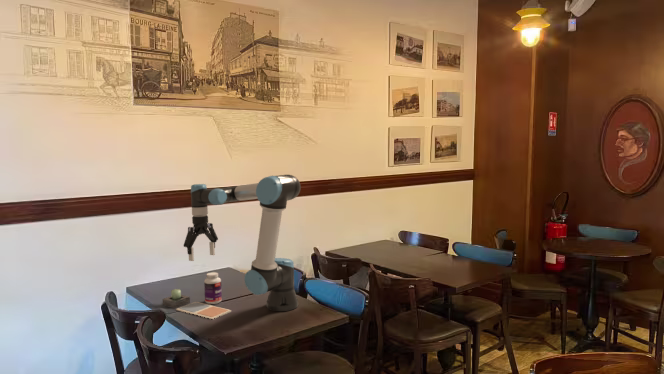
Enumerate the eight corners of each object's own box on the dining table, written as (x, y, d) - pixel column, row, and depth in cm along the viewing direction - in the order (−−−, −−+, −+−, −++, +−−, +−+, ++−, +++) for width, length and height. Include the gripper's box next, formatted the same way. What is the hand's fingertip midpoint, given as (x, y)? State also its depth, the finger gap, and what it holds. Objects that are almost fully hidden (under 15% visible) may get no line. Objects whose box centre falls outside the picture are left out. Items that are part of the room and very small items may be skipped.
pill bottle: (217, 305, 230) (216, 276, 229) (202, 304, 232) (201, 275, 231) (224, 300, 238) (223, 271, 237) (209, 299, 240) (208, 271, 238)
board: (231, 311, 222) (231, 309, 222) (212, 319, 212) (212, 318, 212) (195, 302, 235) (195, 301, 235) (176, 310, 225) (176, 308, 224)
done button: (182, 297, 234) (182, 289, 233) (175, 300, 230) (175, 292, 230) (176, 296, 236) (176, 288, 236) (169, 298, 232) (169, 290, 232)
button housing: (190, 302, 235) (189, 296, 234) (175, 308, 227) (174, 302, 227) (177, 299, 240) (177, 293, 239) (162, 305, 232) (162, 299, 232)
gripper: (213, 211, 247) (215, 251, 249) (174, 218, 226) (176, 262, 228) (223, 212, 243) (225, 253, 245) (185, 219, 222) (187, 264, 224)
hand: (202, 257), depth 237 cm, fingers open, 13 cm apart
